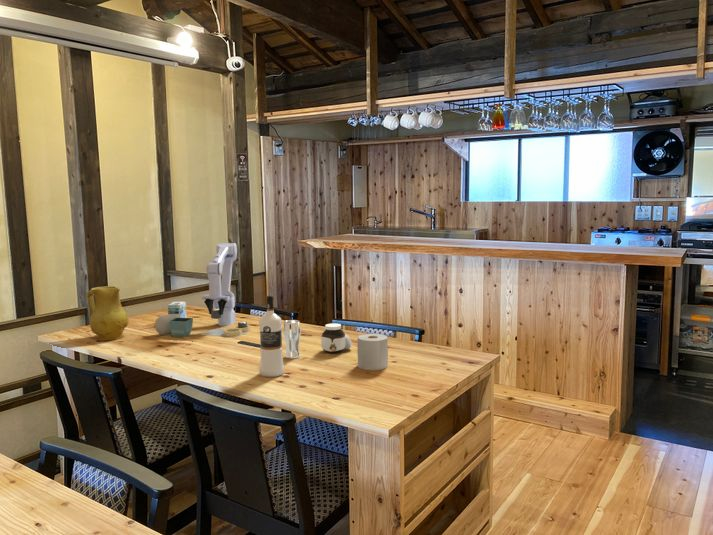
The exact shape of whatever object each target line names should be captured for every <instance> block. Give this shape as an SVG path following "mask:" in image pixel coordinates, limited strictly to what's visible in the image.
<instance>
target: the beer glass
mask: <svg viewBox="0 0 713 535" xmlns="http://www.w3.org/2000/svg"><path fill="white" fill-rule="evenodd" d="M283 338H284V339H283V340H284V344H285V355H284V357H285V358H286V359H290V360H291V359H298V358H300V356H301V354H300V348H299V347H300V346H299V345H300V339H301V324H300V320H297V319H287V320H285V321H283Z"/></svg>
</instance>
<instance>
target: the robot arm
mask: <svg viewBox="0 0 713 535" xmlns="http://www.w3.org/2000/svg"><path fill="white" fill-rule="evenodd" d="M215 250H216V254H215V255H214V256H213V257H212V259H211V260H210V261H211V262H209V263H207V265H206V273H207V278H208V289H209V294H204V295H202V294H201V300H204V305H206V308H207V310H208V312H209V315H211V310H212V309H219V314H220V315H222V318H218V319H217V325H218V326H221V327H228V326H232V325H233V324H235V323H236V311H235V310H234V308H235V306H236V300H235V299H236V298H235V294H234V292H232V291H231V285H232V284H231V281H232V275H233V274H232V272H233V271H232V270H233V265H234V261H237V256H238V255H237V254H238V245H237V244H236V242H234V243H233V242H231V243H229V242H227V243H226V242H225V243H222V242H221V243H220V242H217V244H216V249H215ZM221 274H222V275H221Z"/></svg>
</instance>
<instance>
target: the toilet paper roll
mask: <svg viewBox="0 0 713 535" xmlns="http://www.w3.org/2000/svg"><path fill="white" fill-rule="evenodd" d="M388 339H389V338H388V336H387V335H385V334H380V333H365V334H360V335H359V336H357V367H358V368H359V369H361V370H363V371H364V370H365V371H380V370H384V369H387V368H388V367H389V364H388V363H389V345H388V344H389V342H388V341H389V340H388Z"/></svg>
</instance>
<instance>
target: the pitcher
mask: <svg viewBox="0 0 713 535" xmlns="http://www.w3.org/2000/svg"><path fill="white" fill-rule="evenodd" d="M120 289H121V288H119V286H118V285H115V286H114V285H113V286H112V285H111V286H110V285H109V286H107V285H106V286H97V287H92V288H90V290H88V291H87V293H86V299H87V304H88V306H87V307H88V308H89V312H90V317H89V327H90V330H91V332H92V333H94V334H95V335H96V336H97V337H96V341H102V342H103V341H113V340H114V341H116V340H120V339H123V338H124V335H123V333H124V331H125V328H127V327H128V326H129V324H130V322H129V316H128V313H127V312H126V311H125V309H124V307H123V306H122V304H121V298H120V291H121V290H120Z"/></svg>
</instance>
